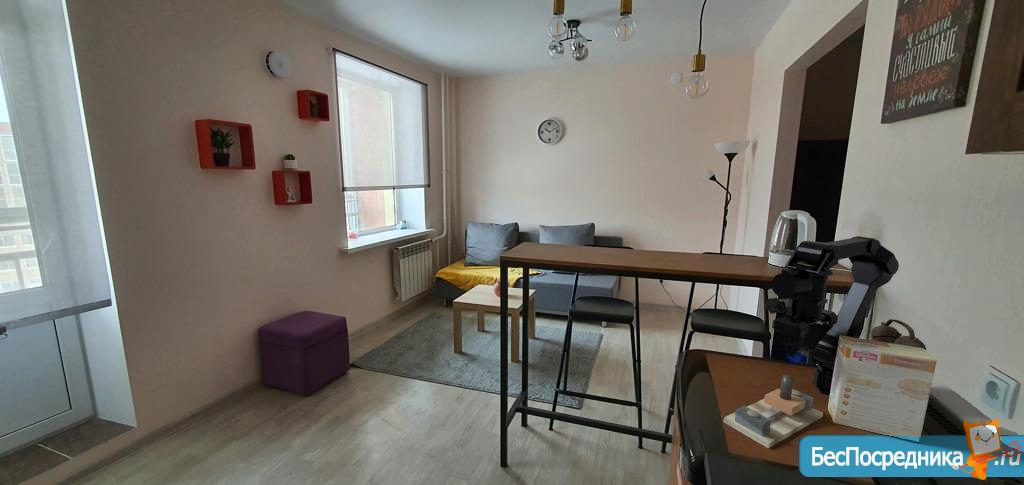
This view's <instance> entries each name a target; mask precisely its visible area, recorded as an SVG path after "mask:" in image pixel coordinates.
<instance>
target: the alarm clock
mask: <svg viewBox="0 0 1024 485" xmlns="http://www.w3.org/2000/svg"><path fill="white" fill-rule="evenodd" d="M892 323H896V324H899V325H901V326H903V327H904V328H905V329H906V330H907V332H908V334H909V335H903V334H902V333H901V332H899V331H898V329H897V328H895V327H894V326H892V325H891V324H892ZM890 325H891V326H890ZM870 340H873V341H879V342H886V343H892V344H898V345H905V346H912V347H918V348H923V349H925V350H926V351H927V347H926V344H924V342H923V341H922V340H921V339H919V338H918V337H916V335H915V331H914V329H913V328H912V327H911V325H909V324H907V323H905V322H904V321H901V320H899V319H892V318H891V319H888V320H887V321H886V322H885V321H881V323H880V325H878V326H874V327H873V328H872V329H871V331H870Z"/></svg>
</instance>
